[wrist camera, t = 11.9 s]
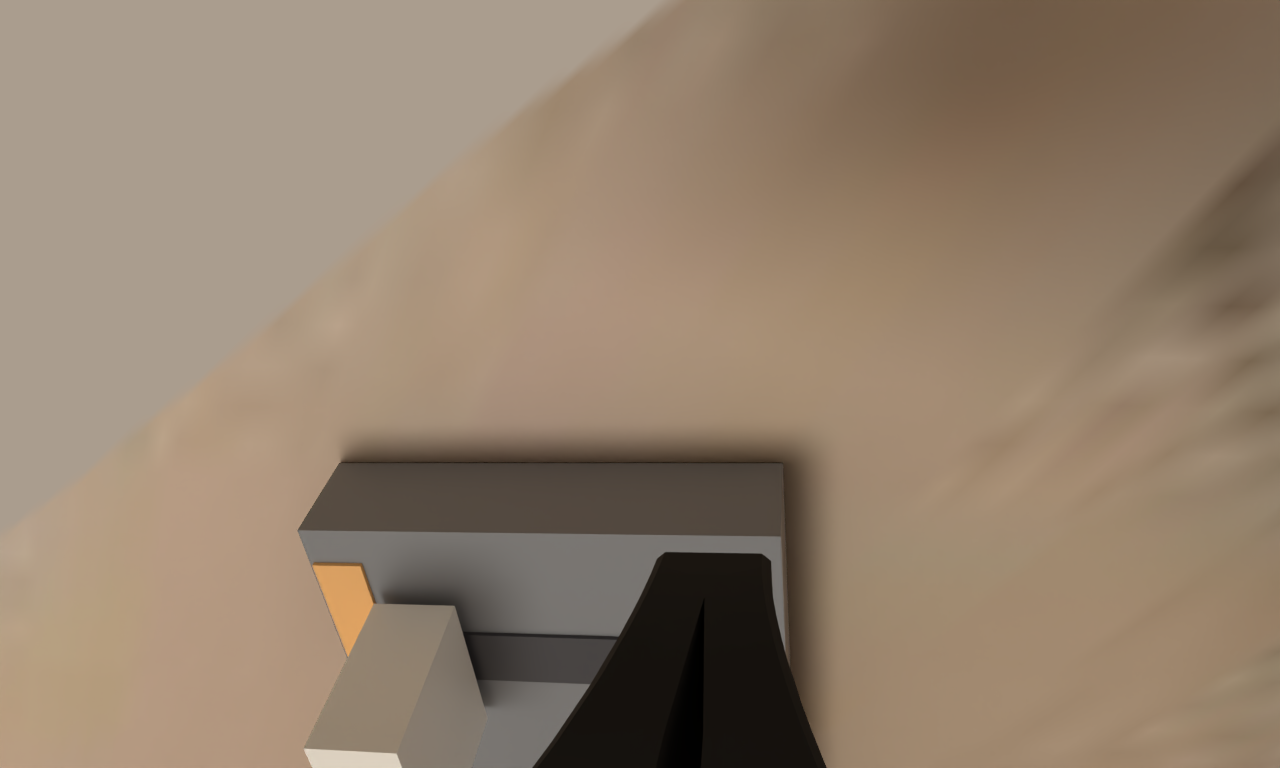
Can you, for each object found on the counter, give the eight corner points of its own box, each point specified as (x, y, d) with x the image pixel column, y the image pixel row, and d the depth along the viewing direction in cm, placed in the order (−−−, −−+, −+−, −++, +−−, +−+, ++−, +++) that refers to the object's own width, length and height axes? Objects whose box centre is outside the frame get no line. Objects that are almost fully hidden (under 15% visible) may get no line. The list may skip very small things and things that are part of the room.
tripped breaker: (454, 605, 23) (396, 753, 20) (487, 717, 25) (439, 868, 22) (373, 603, 23) (303, 748, 20) (413, 714, 26) (355, 861, 22)
